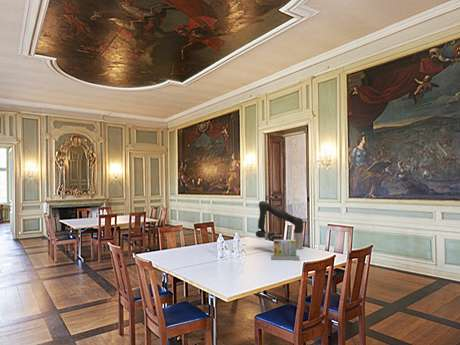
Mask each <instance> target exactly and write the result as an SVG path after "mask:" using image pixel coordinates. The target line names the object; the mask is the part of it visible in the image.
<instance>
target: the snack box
mask: <svg viewBox="0 0 460 345" xmlns="http://www.w3.org/2000/svg"><path fill="white" fill-rule="evenodd" d="M273 256H297V249H296V240H294V239H274V240H273Z"/></svg>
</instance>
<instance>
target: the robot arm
mask: <svg viewBox="0 0 460 345" xmlns="http://www.w3.org/2000/svg"><path fill="white" fill-rule="evenodd" d="M258 208H259V218H258V222H257V223H258V224H257V228H258V230H257V231H256V232H255V237H257V238H261V239H267V240H271V241H274V240H282V236H281V235H280V234H276V233H275V232H272V231H266V230H265V229H266V227H265V226H266V215H267V212H269V213H270V214H271V215H273V216H274V217H276V218H278V219H281V220H283V221H287V222H289V223H291V224H292V225H294V229H293V240H296V250H303V249H304V241H303V239H304V237H303V236H304V235H303V234H304V233H303V230H304V221H303V219H302V218H301V217H297V216H294V215H291V214H289V213H288V212H286V211H285V210H282V209H281V208H278V207H275V206H274V205H271V204H269V203H268V202H267V201H264V200H262V201H259V202H258Z"/></svg>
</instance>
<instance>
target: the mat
mask: <svg viewBox="0 0 460 345" xmlns="http://www.w3.org/2000/svg"><path fill="white" fill-rule="evenodd" d="M270 261H301V258H300V256H299V255H298V256H297V255H296V256H274V255H271V258H270Z"/></svg>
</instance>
